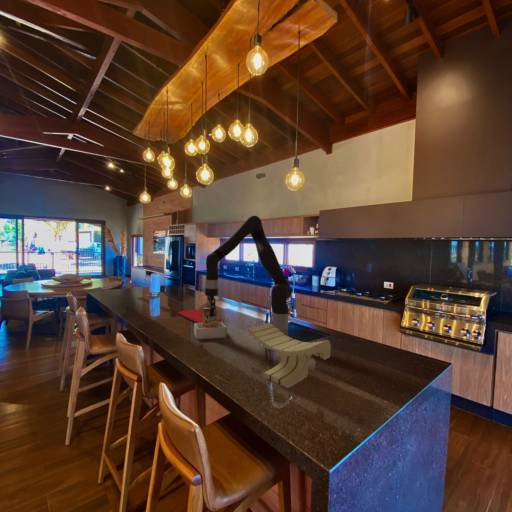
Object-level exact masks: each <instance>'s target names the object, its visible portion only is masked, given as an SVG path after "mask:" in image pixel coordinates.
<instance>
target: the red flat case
mask: <svg viewBox="0 0 512 512" xmlns="http://www.w3.org/2000/svg"><path fill="white" fill-rule="evenodd" d="M177 315H179V316H180V317H183V318H185V319H187V320H189V321H191V322H194V323H203V311H200V310H197V309H186V310H181V311H179V312H177ZM218 322H223V323H224V324H225V321H223V320H221V319H220V318H218Z"/></svg>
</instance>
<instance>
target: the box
mask: <svg viewBox="0 0 512 512" xmlns="http://www.w3.org/2000/svg"><path fill="white" fill-rule="evenodd" d="M223 322H224V321H223ZM223 322H218V327H213V328H203V323H196V322H194V323H193V334H194V338H195V340H197V341H198V340H207V339H208V340H210V339H223V338H224V339H225V338H227V332H228V331H227V330H228V329H227V326H226V325H225V322H224V323H223Z"/></svg>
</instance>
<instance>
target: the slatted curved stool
mask: <svg viewBox="0 0 512 512" xmlns="http://www.w3.org/2000/svg"><path fill="white" fill-rule="evenodd" d="M248 335H249V336H252V337H253V340H256V341H257V340H258V343H259V344H261V345H262V344H263V348H266V349H268V350H272V351H274V352H276V353H281V360H280V362H279V363H277V365H276V366H274V367H272V368H271V369H268V370H266V371H264V372H263V374H262V377H263V378H265V379H267V380H270V381H271V382H273V383H276V384H277V385H280V386H282V387H285V388H287V389H289V388H291V387H293V386H294V385H296V384H298V383H300V382H302V381H303V380H305V379H306V378H307V377H308V374H309V373H308V372H309V365H310V364H309V363H310V360H311V357H312V356H316V357H319V358H321V359H323V360H324V361H326V360H327V359H329V358H331V350H332V349H331V346H332V345H331V341H330V340H329V339H325V340H321V341H318V342H315V341H313V342H306V341H301V340H298V339H296V338H295V339H294V338H292V337H290V336H289V335H288V336H286V335H285V334H284V333H282V332H280V330H279V329H277V328H275V326H274V325H272V324H271V323H265V324H260V325H256V326H253V327H249V328H248ZM305 377H306V378H305ZM304 378H305V379H304Z"/></svg>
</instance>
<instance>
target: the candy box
mask: <svg viewBox="0 0 512 512" xmlns="http://www.w3.org/2000/svg"><path fill="white" fill-rule="evenodd" d="M202 310H203V311H202V312H203V328H213V327H218V319H219V311H220V308H219V307H215V310H214V317H210V308H208V307H207V306H206V307H203V309H202Z"/></svg>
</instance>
